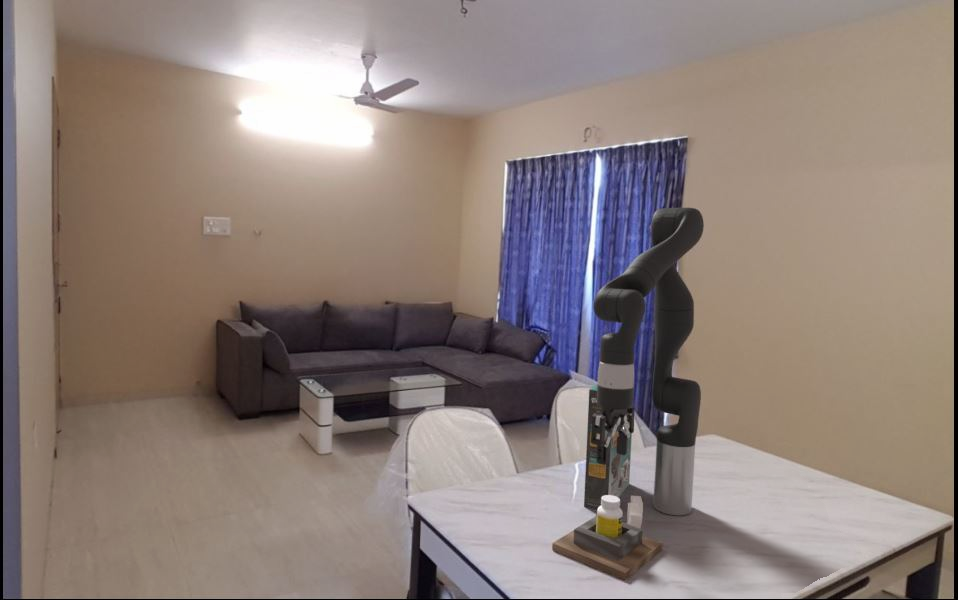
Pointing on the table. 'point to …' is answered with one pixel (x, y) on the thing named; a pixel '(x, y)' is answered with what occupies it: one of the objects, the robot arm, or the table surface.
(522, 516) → the table surface
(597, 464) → the cake mix box
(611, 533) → the supplement bottle
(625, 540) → the wooden board with frame
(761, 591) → the table surface
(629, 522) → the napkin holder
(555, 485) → the table surface
